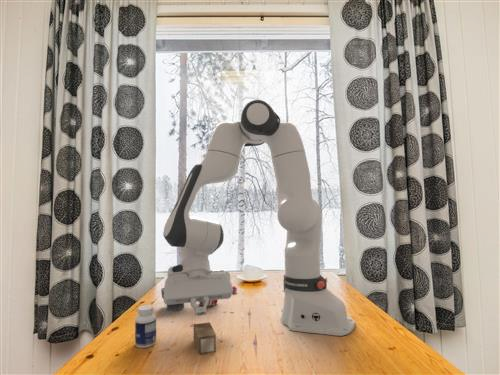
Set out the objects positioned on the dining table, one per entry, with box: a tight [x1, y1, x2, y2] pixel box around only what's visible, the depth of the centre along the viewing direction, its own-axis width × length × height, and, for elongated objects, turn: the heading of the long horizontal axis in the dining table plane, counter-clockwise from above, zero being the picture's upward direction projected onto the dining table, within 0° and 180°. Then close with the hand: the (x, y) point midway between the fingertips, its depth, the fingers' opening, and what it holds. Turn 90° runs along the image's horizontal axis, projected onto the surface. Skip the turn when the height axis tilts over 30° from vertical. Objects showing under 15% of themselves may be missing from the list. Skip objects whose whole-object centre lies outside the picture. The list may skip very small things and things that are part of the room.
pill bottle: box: [134, 304, 157, 349], centre depth 87 cm, size 5×5×10 cm
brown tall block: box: [193, 322, 217, 356], centre depth 85 cm, size 4×4×9 cm
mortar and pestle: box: [160, 287, 185, 311], centre depth 117 cm, size 11×9×12 cm
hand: (201, 314), depth 91 cm, fingers closed
